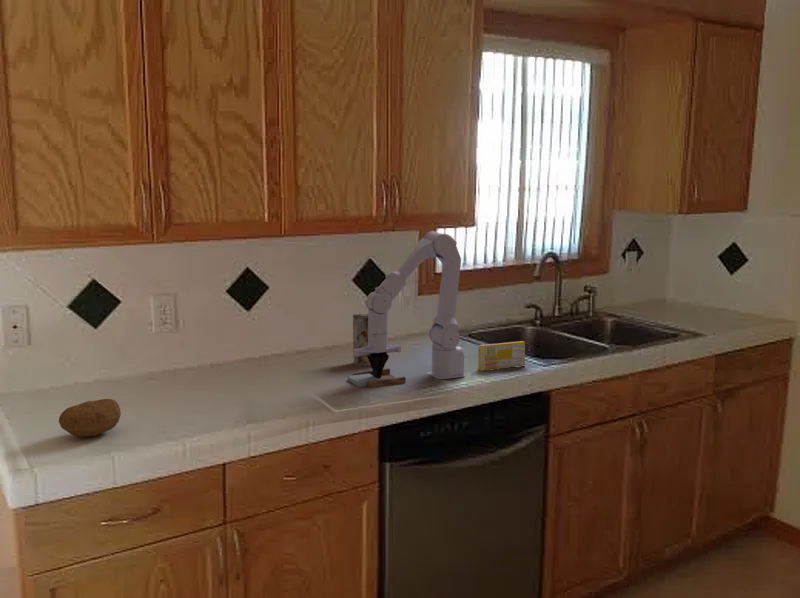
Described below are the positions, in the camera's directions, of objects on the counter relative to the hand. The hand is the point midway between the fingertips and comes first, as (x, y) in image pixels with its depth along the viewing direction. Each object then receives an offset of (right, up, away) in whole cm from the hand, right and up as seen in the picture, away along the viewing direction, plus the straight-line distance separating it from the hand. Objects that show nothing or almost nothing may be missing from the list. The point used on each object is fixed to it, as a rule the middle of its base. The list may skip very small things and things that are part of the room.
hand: (377, 377), depth 230 cm
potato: (-66, -9, -47) cm, 81 cm away
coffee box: (-3, +2, +21) cm, 21 cm away
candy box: (+39, +1, +18) cm, 43 cm away
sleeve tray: (0, -1, 0) cm, 1 cm away
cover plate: (-4, -1, -2) cm, 4 cm away
